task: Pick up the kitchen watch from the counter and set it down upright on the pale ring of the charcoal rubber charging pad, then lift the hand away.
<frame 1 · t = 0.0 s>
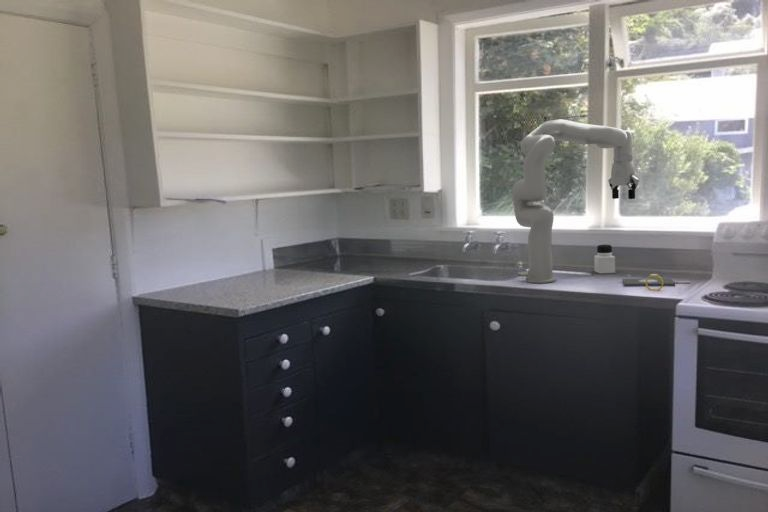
hand: (623, 198, 298), 31 cm above the worktop, tool pointing down, fingers open, 9 cm apart
charging pad: (648, 283, 265), on the worktop
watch: (654, 290, 251), on the worktop
medicine bottle: (604, 272, 297), on the worktop
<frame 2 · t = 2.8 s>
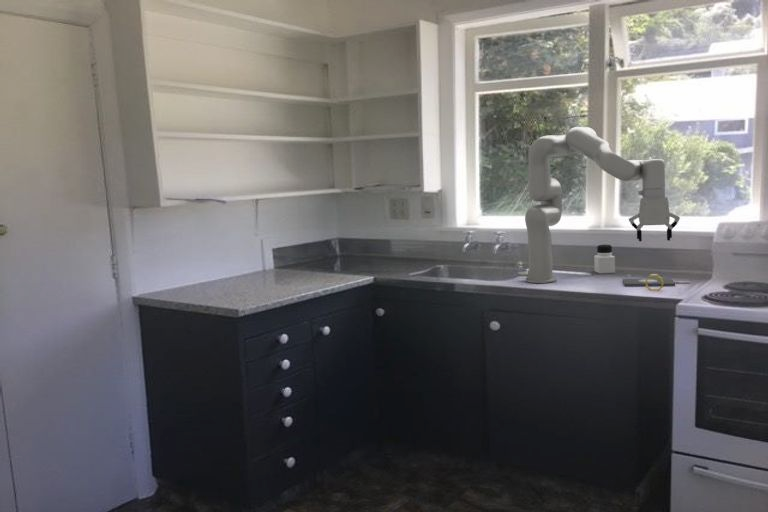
hand: (654, 240, 249), 18 cm above the worktop, tool pointing down, fingers open, 9 cm apart
nothing on the worktop moved.
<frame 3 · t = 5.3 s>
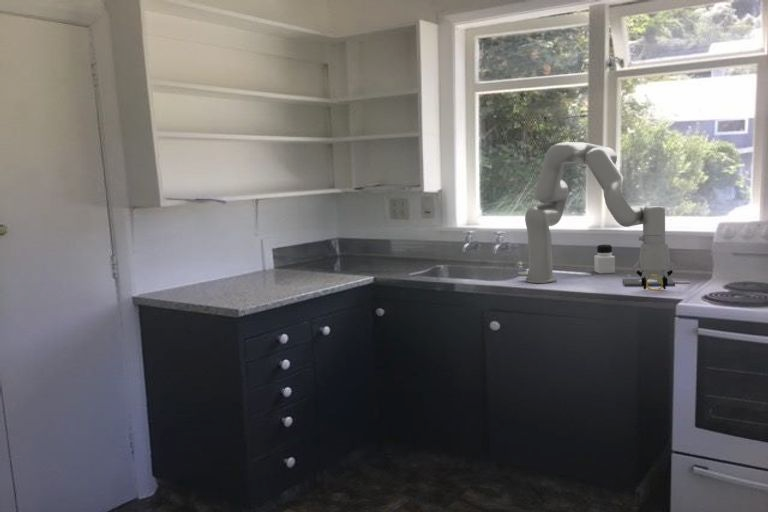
hand: (654, 287, 251), 1 cm above the worktop, tool pointing down, fingers closed on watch, 6 cm apart
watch: (654, 290, 251), on the worktop, touching gripper
everything else where it was.
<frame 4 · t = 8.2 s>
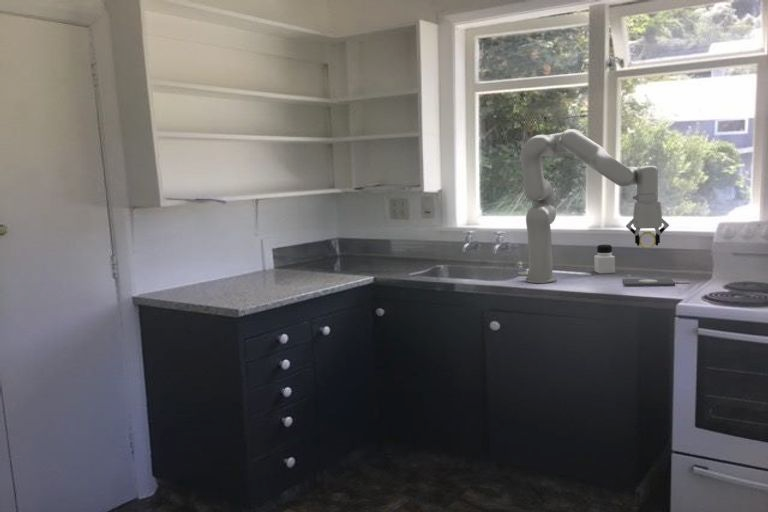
hand: (647, 244, 263), 15 cm above the worktop, tool pointing down, fingers closed on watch, 6 cm apart
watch: (647, 247, 263), point 14 cm above the worktop, touching gripper
everything else where it was.
when the fingers open (3 cm above the worktop, at t = 11.2 s): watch drops 1 cm, resting on charging pad.
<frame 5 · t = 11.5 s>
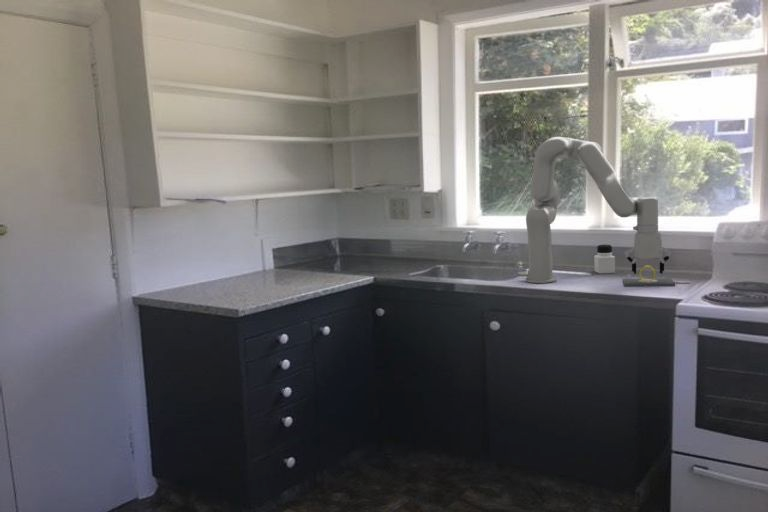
hand: (647, 273, 264), 4 cm above the worktop, tool pointing down, fingers open, 9 cm apart
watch: (647, 281, 265), point 1 cm above the worktop, touching charging pad
everything else where it was.
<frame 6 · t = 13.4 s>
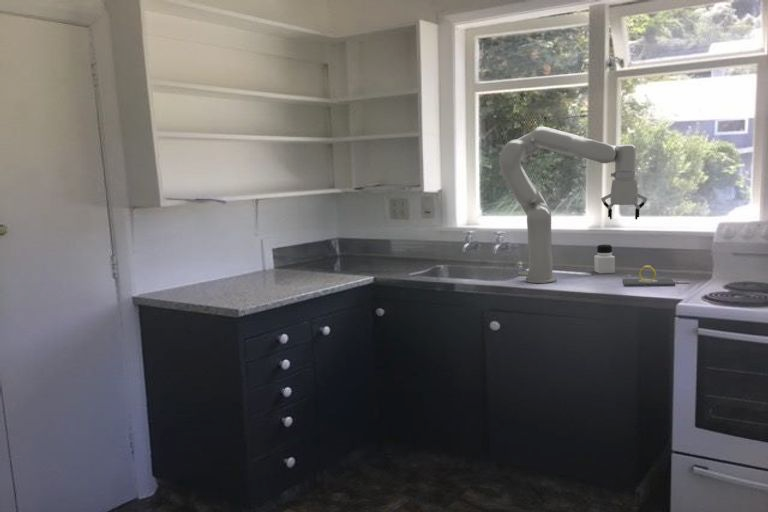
hand: (623, 219, 272), 25 cm above the worktop, tool pointing down, fingers open, 9 cm apart
nothing on the worktop moved.
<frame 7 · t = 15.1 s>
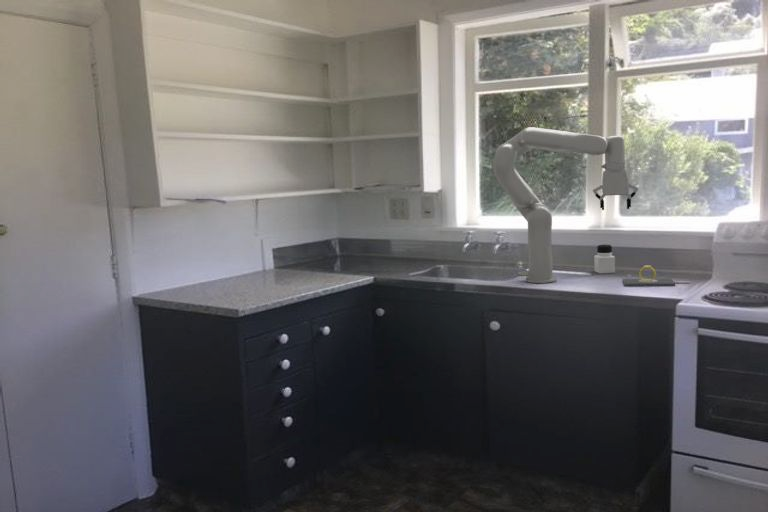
hand: (615, 209, 277), 28 cm above the worktop, tool pointing down, fingers open, 9 cm apart
nothing on the worktop moved.
at the end: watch inside the target area on the charging pad (0.2 cm from its centre), point 0.8 cm above the charging pad's base; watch tilted 0°; the gripper is holding nothing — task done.
